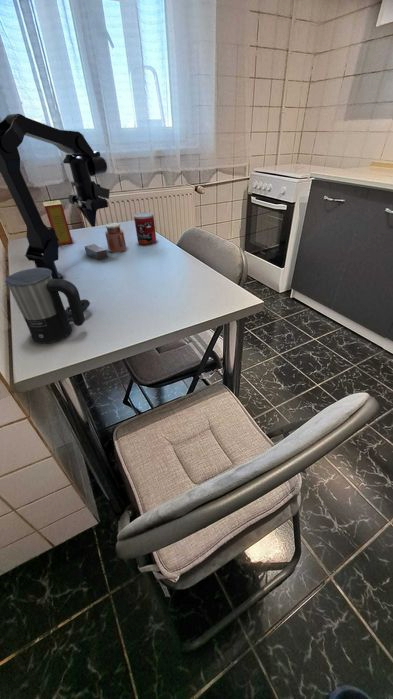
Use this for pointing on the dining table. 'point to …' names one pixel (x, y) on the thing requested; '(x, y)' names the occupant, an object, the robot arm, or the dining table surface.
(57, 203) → the baking soda box
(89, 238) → the dining table surface
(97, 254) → the walnut block
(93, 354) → the dining table surface
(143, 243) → the canned food
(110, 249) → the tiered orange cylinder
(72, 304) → the milk frother
